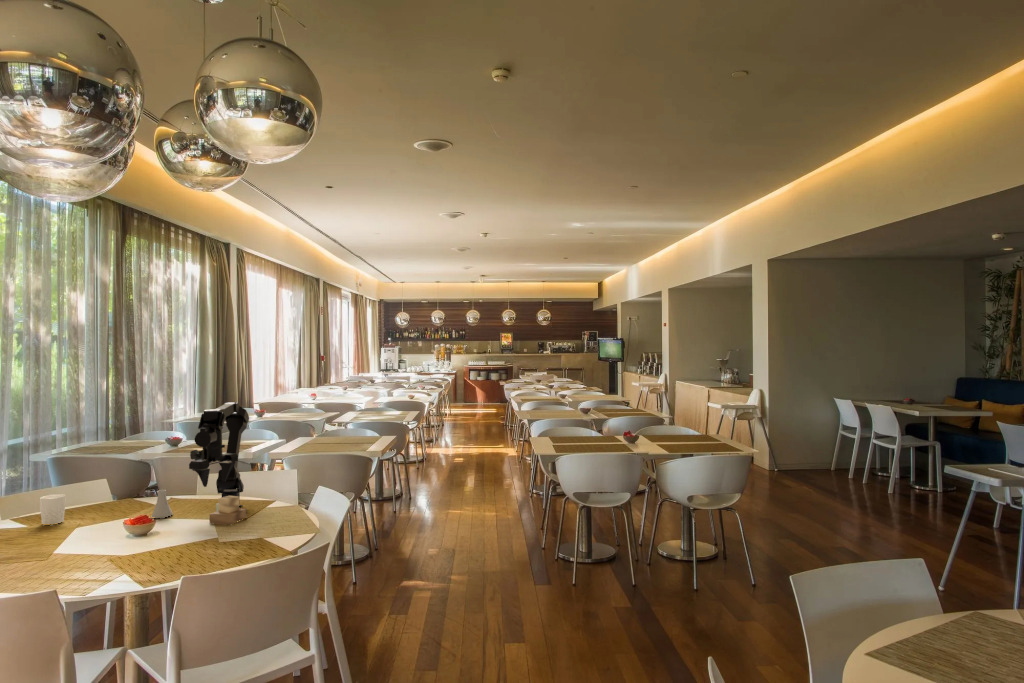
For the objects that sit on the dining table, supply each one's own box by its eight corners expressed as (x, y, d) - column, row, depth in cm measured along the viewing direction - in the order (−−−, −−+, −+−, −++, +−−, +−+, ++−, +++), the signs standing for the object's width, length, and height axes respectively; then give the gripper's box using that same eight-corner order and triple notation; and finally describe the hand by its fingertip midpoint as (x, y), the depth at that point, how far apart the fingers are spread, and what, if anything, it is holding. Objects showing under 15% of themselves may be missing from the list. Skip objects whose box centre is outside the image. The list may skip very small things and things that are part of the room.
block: (227, 511, 261) (227, 501, 261) (239, 514, 255) (239, 504, 255) (216, 513, 257) (215, 503, 257) (228, 517, 252) (228, 506, 252)
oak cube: (229, 508, 249) (229, 495, 249) (239, 510, 247) (239, 496, 247) (218, 511, 244) (218, 498, 244) (228, 513, 242) (228, 499, 242)
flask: (176, 514, 256) (176, 488, 256) (165, 519, 249) (164, 492, 249) (159, 514, 257) (158, 488, 257) (147, 519, 250) (146, 492, 250)
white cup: (34, 525, 244) (34, 498, 244) (56, 519, 251) (56, 493, 251) (49, 527, 241) (48, 499, 241) (70, 521, 248) (70, 494, 248)
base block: (225, 518, 250) (225, 508, 250) (246, 519, 248) (246, 508, 249) (209, 524, 242) (209, 513, 242) (231, 525, 240) (231, 514, 240)
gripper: (216, 438, 262) (217, 477, 262) (177, 445, 244) (178, 488, 244) (238, 439, 258) (239, 479, 258) (200, 447, 240) (201, 490, 240)
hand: (214, 484), depth 250 cm, fingers open, 9 cm apart
